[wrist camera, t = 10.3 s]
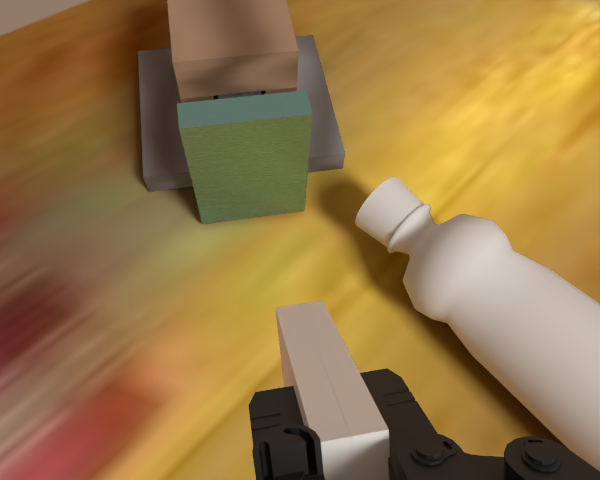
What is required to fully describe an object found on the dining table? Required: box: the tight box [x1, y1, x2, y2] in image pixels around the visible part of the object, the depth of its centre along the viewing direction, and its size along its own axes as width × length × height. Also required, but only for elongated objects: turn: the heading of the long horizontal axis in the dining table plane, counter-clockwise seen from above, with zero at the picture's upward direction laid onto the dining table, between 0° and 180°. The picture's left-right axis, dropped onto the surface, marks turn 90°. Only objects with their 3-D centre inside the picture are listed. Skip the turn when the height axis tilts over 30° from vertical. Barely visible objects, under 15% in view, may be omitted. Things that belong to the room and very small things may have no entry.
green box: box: [177, 90, 312, 224], centre depth 41 cm, size 8×18×11 cm, turn 10°
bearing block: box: [138, 0, 345, 192], centre depth 42 cm, size 16×14×12 cm
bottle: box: [355, 177, 600, 471], centre depth 33 cm, size 9×9×30 cm
